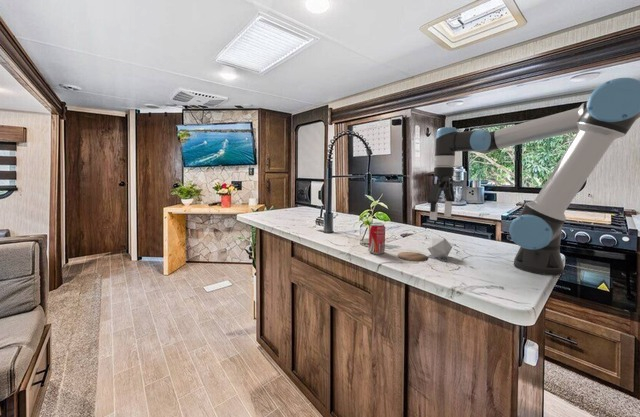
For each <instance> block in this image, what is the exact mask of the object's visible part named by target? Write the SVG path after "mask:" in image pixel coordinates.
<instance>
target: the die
mask: <svg viewBox="0 0 640 417" xmlns="http://www.w3.org/2000/svg"><path fill="white" fill-rule="evenodd" d="M426 249H427V250H428V252H429V253H430V255H431V254H432V256H433V257H434V258H447V256H449V255H450V253H451V251H452V249H453V246H452V245H451V244H450V242H449V241H448V240H447V239H446V237H432V238H431V239H430V241H429V244H428V246H427V248H426Z"/></svg>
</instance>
